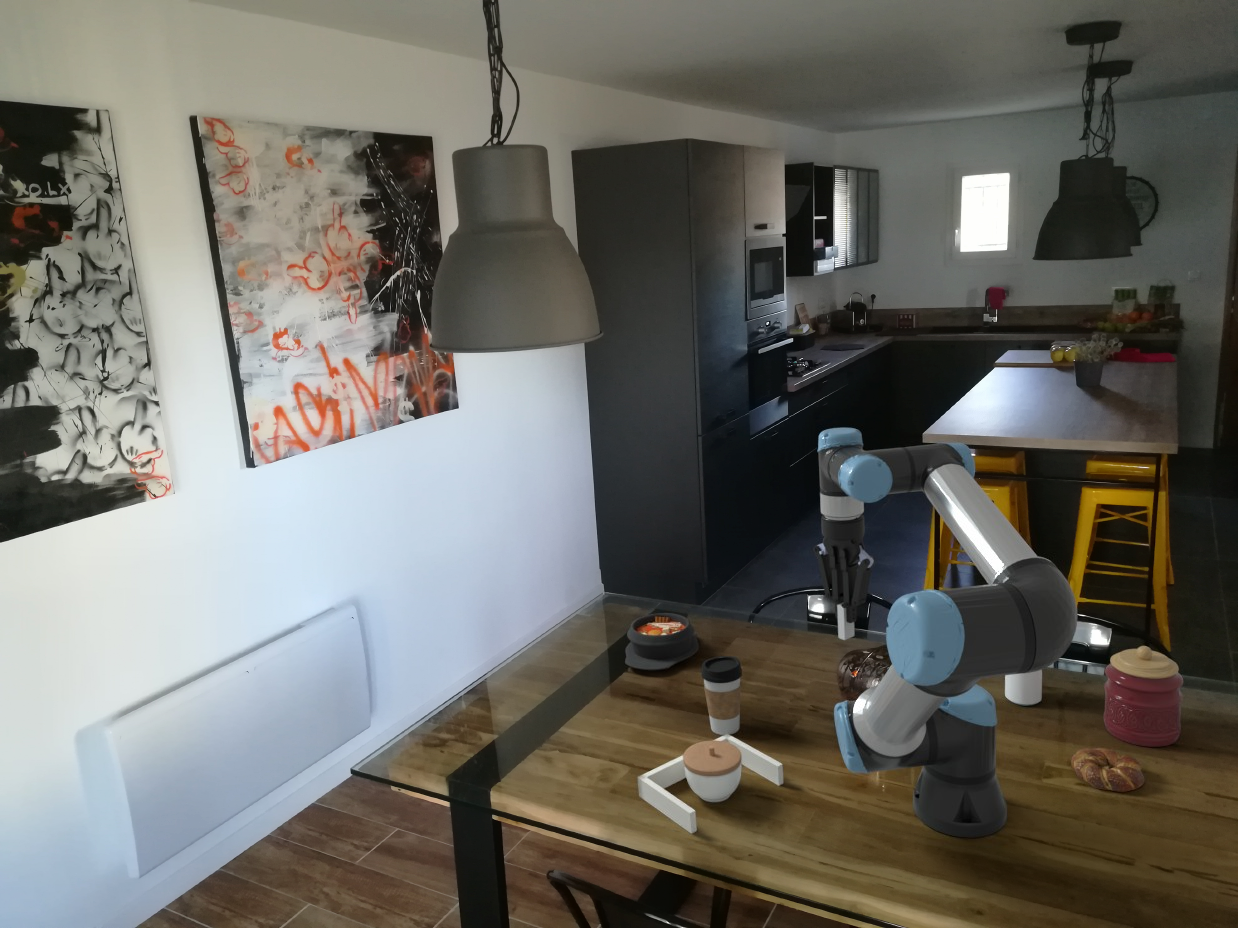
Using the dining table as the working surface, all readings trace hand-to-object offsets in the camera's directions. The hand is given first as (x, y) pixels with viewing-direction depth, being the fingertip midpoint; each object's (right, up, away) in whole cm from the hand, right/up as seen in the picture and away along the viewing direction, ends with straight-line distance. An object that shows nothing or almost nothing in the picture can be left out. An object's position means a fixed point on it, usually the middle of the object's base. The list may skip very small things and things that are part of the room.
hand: (846, 636), depth 166 cm
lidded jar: (-24, -29, +1) cm, 38 cm away
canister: (+60, -20, +9) cm, 63 cm away
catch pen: (-25, -29, +2) cm, 38 cm away
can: (+44, -18, +24) cm, 53 cm away
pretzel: (+46, -25, -4) cm, 52 cm away
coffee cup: (-20, -24, +23) cm, 39 cm away
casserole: (-31, -17, +61) cm, 71 cm away
